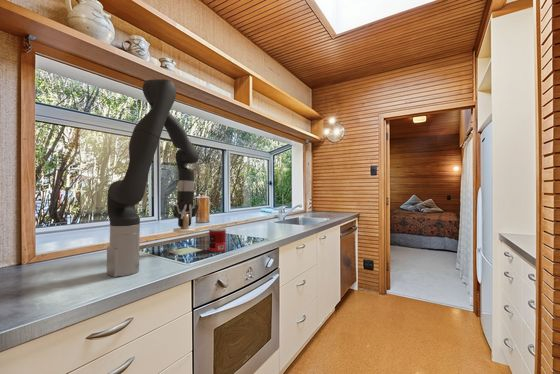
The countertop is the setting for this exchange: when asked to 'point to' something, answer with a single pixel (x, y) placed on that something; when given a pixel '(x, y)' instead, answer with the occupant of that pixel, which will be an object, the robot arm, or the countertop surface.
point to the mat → (184, 251)
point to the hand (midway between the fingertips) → (184, 226)
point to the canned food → (217, 239)
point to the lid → (185, 225)
